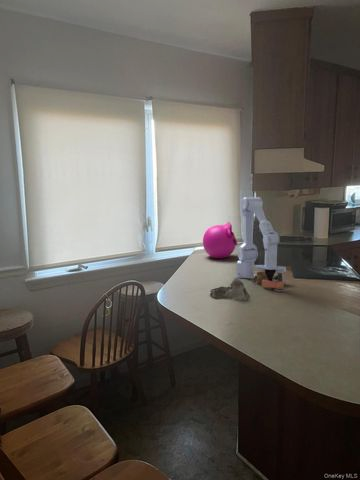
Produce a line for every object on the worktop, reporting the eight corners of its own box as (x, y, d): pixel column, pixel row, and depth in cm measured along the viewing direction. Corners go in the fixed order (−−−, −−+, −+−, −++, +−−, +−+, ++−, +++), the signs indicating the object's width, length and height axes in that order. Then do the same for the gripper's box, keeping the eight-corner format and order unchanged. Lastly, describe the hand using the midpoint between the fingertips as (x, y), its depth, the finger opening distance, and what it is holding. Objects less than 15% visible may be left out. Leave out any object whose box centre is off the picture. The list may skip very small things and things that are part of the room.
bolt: (259, 282, 180) (259, 271, 180) (260, 280, 184) (260, 269, 183) (282, 284, 176) (282, 273, 176) (282, 282, 180) (283, 271, 179)
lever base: (273, 291, 166) (273, 289, 166) (274, 288, 171) (274, 286, 171) (284, 292, 164) (284, 290, 164) (285, 289, 169) (285, 287, 169)
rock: (249, 292, 164) (248, 274, 159) (250, 307, 155) (248, 289, 150) (211, 292, 168) (209, 275, 163) (209, 307, 159) (207, 290, 154)
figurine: (239, 261, 233) (240, 224, 229) (203, 261, 233) (203, 224, 229) (234, 254, 256) (235, 220, 252) (202, 254, 256) (202, 220, 252)
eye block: (256, 283, 179) (257, 271, 178) (258, 279, 186) (259, 268, 185) (268, 284, 177) (269, 272, 176) (270, 280, 184) (270, 269, 183)
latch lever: (282, 290, 165) (282, 283, 164) (261, 286, 171) (261, 280, 170) (284, 288, 168) (284, 282, 167) (263, 284, 174) (264, 279, 173)
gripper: (254, 258, 169) (254, 285, 171) (285, 260, 164) (284, 288, 166) (256, 255, 176) (256, 281, 178) (286, 257, 171) (285, 284, 173)
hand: (270, 284), depth 173 cm, fingers closed
